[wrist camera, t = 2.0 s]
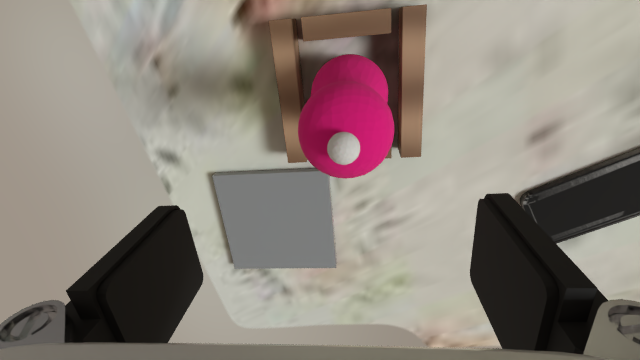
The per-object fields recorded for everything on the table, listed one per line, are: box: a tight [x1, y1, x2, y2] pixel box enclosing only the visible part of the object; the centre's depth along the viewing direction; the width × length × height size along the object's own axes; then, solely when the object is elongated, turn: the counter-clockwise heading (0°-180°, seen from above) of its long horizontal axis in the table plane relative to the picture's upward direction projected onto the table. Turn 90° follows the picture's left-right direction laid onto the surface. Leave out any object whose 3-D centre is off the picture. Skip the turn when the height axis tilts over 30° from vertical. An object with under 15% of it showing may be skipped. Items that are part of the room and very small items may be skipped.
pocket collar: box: [269, 4, 427, 163], centre depth 34 cm, size 14×14×3 cm
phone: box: [520, 148, 640, 244], centre depth 37 cm, size 8×1×15 cm
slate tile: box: [212, 168, 337, 269], centre depth 43 cm, size 14×14×1 cm
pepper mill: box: [298, 54, 394, 178], centre depth 26 cm, size 7×7×20 cm
